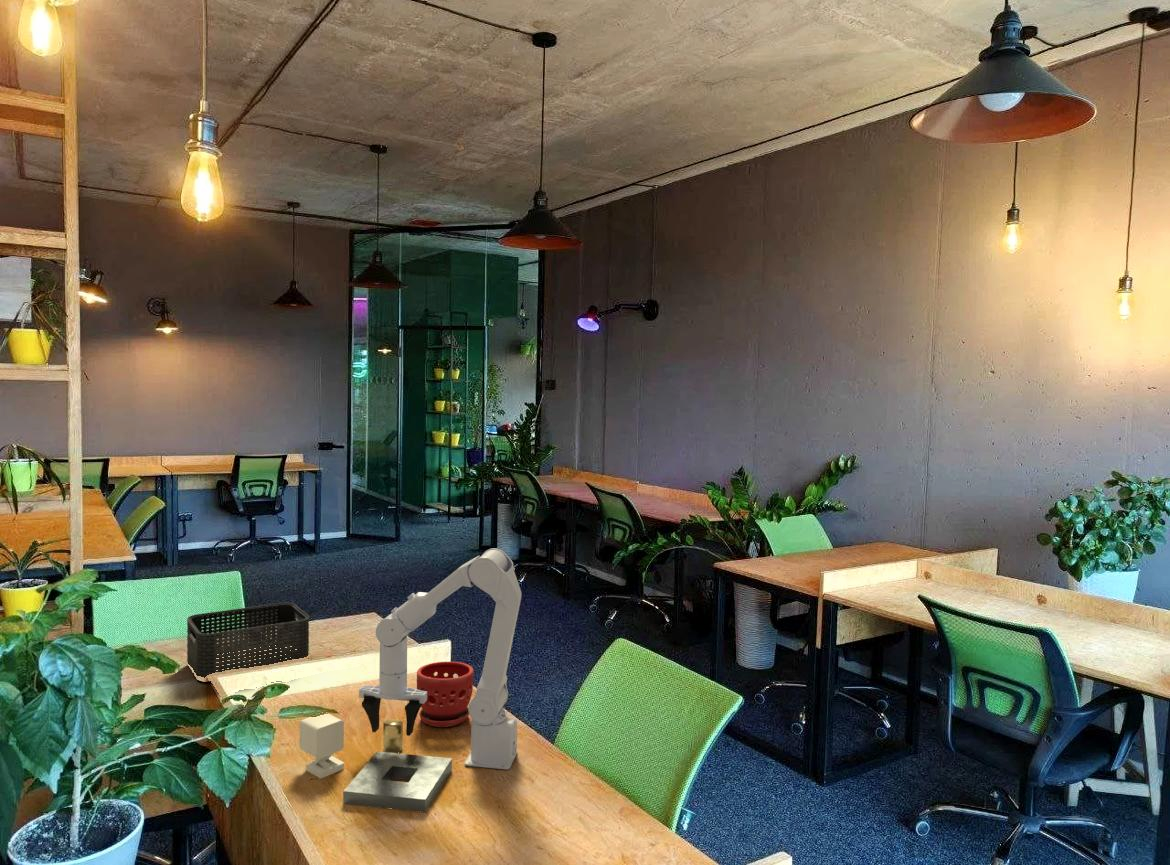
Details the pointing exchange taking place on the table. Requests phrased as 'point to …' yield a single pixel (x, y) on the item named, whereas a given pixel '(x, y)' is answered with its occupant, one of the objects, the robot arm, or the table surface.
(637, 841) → the table surface
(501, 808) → the table surface
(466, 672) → the plant pot
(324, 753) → the security camera
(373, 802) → the jig plate
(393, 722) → the cylinder
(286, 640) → the storage bin
